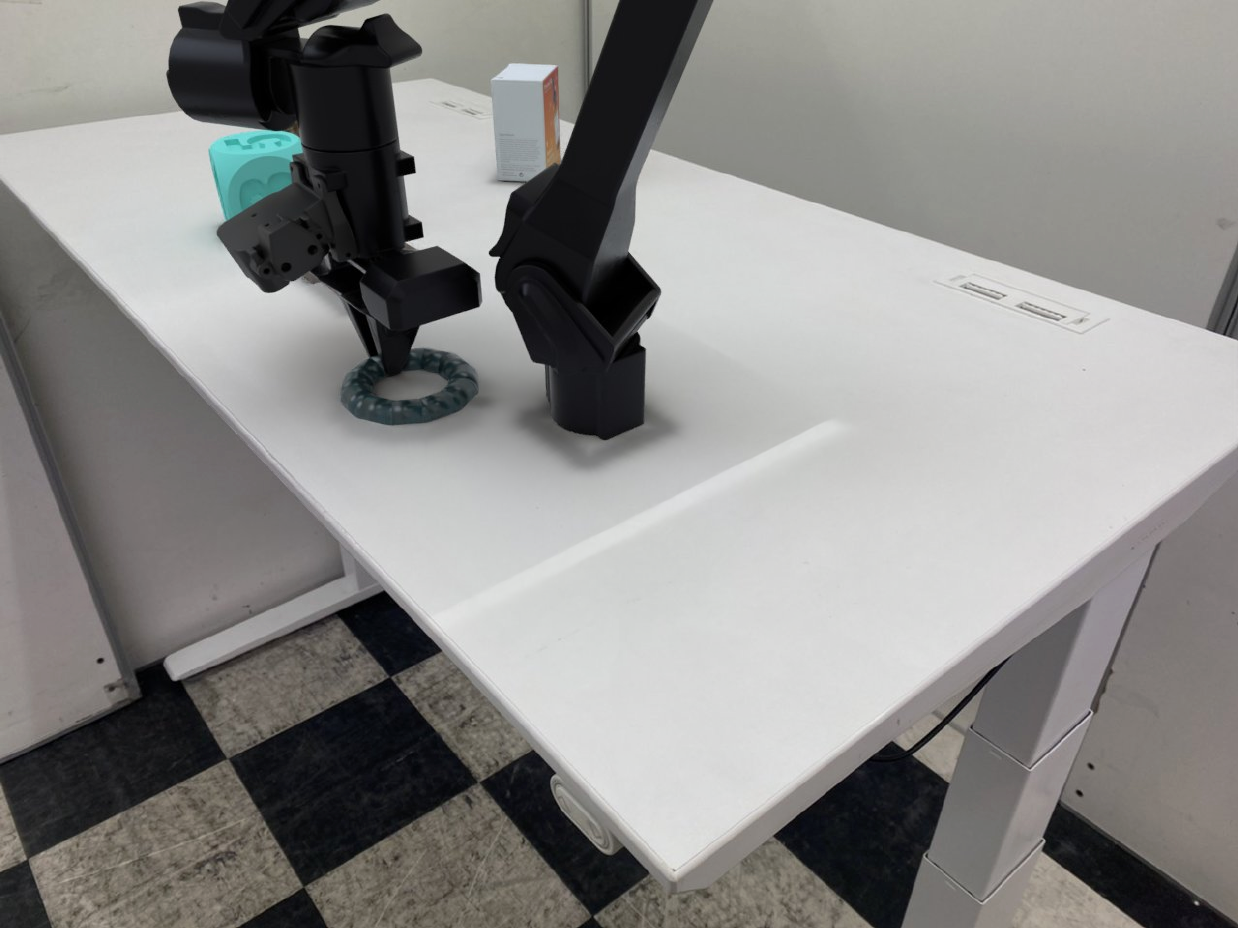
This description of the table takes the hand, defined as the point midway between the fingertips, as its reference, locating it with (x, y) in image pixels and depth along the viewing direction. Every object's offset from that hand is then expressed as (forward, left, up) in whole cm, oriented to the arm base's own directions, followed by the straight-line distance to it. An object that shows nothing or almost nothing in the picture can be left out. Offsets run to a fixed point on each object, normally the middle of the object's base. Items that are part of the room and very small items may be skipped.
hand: (386, 367), depth 64 cm
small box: (+33, -34, -1) cm, 47 cm away
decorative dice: (+34, -5, -1) cm, 34 cm away
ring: (-3, 0, 0) cm, 4 cm away
